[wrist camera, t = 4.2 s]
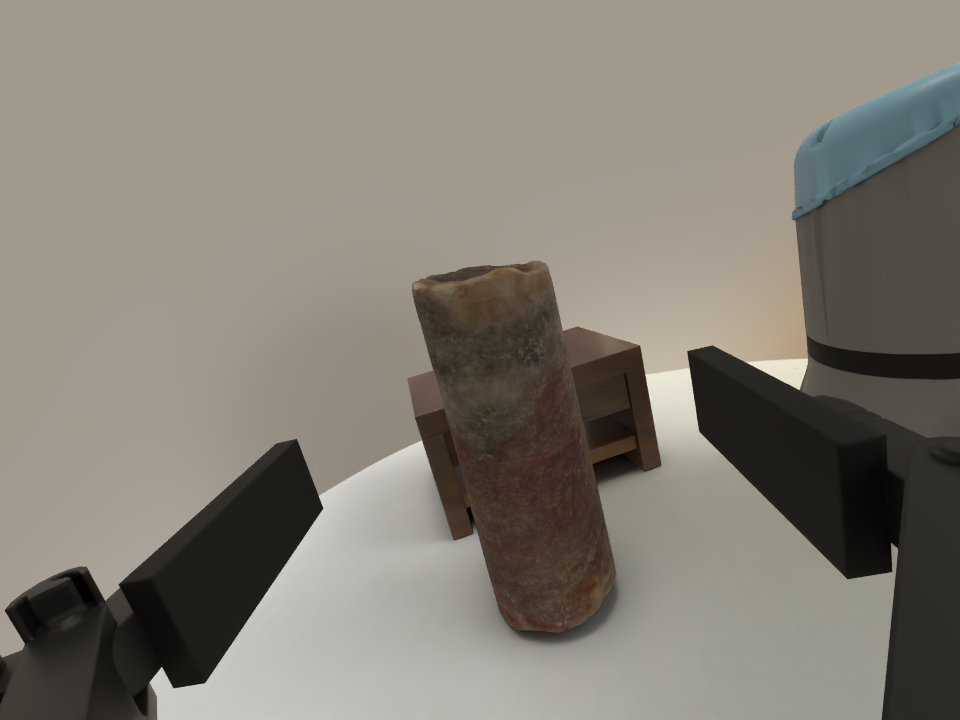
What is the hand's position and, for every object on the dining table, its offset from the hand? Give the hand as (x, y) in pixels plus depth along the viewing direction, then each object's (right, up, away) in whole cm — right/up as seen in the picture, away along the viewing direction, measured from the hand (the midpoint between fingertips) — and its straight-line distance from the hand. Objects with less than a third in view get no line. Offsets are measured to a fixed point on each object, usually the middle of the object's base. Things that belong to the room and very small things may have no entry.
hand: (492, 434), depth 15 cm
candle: (+4, -12, +13) cm, 18 cm away
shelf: (+5, -8, +27) cm, 29 cm away
